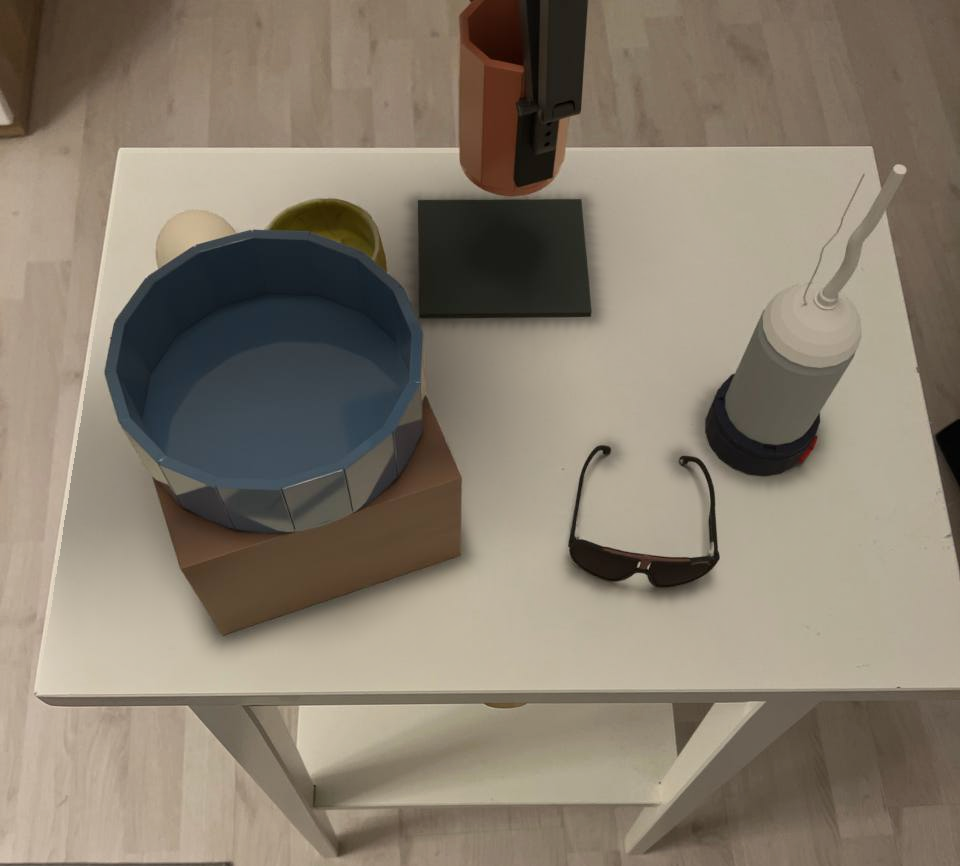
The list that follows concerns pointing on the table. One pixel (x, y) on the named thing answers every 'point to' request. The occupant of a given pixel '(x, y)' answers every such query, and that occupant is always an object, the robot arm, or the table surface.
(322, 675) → the table surface
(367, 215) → the mug
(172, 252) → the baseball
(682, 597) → the table surface
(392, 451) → the bowl
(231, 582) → the riser
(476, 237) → the mat
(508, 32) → the cup
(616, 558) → the sunglasses
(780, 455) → the humidifier
